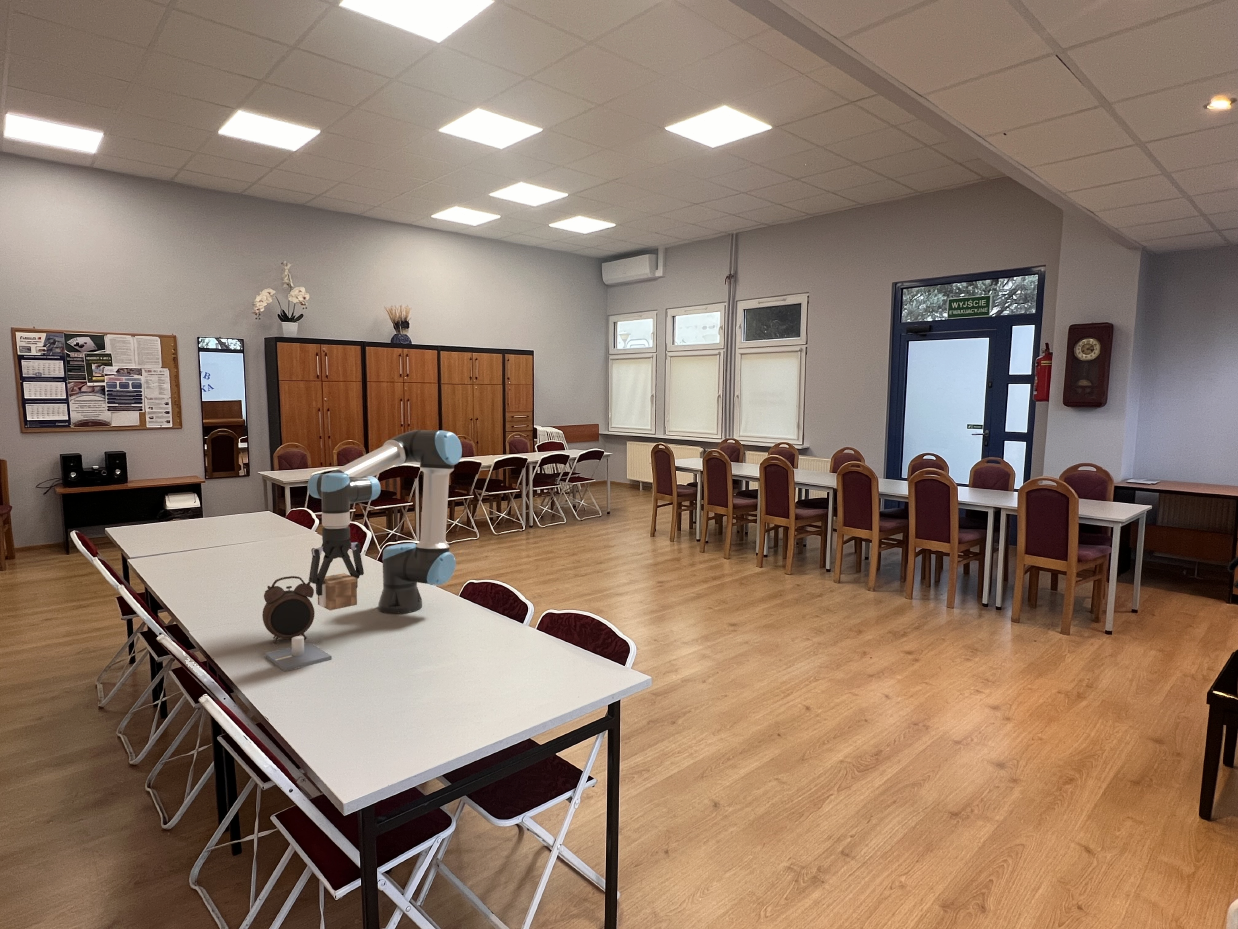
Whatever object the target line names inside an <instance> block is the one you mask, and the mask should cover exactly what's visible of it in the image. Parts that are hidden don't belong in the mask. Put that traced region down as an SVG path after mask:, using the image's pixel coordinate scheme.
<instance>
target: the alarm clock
mask: <svg viewBox="0 0 1238 929" xmlns="http://www.w3.org/2000/svg"><path fill="white" fill-rule="evenodd" d="M290 579H296V580H298V579H299V581H301V583H300V584H297V586H296V587H295V588H294V589H293V590H291V589H292V588H293V587H292V586H291V585H288V586H286V587H285V589H287V590H284V588H282V586H278V585H276V584H277V583H278V582H280V581H284V580H290ZM266 588H267V589H266V590H264V594H263V598H264V599H263V600H264V601H265V604H264V606H263V609H262V621H263V622H262V623H263V625H264V627H265V628H266V630H267V631H268V632H269V633H270V634H271V635H272V636H273V637H272V638H273V640H274V641H273V644H277V641H279V639H282V640H283V639H284V640H292V638H293V637H296V636H303V637H304V640H306V639H307V636H306V634H305V633H306V632H307V631H308V630H309V629H310V627H311V626H312V625H313V622H314V619H315V608H314V605H313V603H312V601H311V600H310V599H313V597H314V595H315V594H314V593H315V590H314V588H313V587H312V585H311V582H309V581H308V582H306V583H305V581H304V580H303V578H302V577H300V576H296V575H291V576H283V577H279V578H277V579H275V580H274V581H273V583H272V584H271V585H267V587H266Z"/></svg>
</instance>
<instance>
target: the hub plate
mask: <svg viewBox="0 0 1238 929" xmlns="http://www.w3.org/2000/svg"><path fill="white" fill-rule="evenodd" d="M264 657H265V658H267V659H268V660H269V661H270V662H271V663H273V664H275V665H276V667H278V668H279V669H281V670H282V671H284V672H287V671H291V670H296V669H299V668H303V667H307V666H310V665H315V664H319V663H323V662H325V661H331V660H332V657H333V656H332V655H331V654H329V653H328V652H326V651H324V649H321V648H320V647H318V646H317V645H315V644H314V643H312V642H307V643H305V639H304V637H303V636H302V635H300V636H296V637H293V638H291V647H286V648H282V649H278V650H274V651H269V652H266V653H264Z"/></svg>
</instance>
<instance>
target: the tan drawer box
mask: <svg viewBox="0 0 1238 929" xmlns="http://www.w3.org/2000/svg"><path fill="white" fill-rule="evenodd" d="M323 583H324V584H326V607H323V608H324V609H325V610H329V611H333V610H338V609H339V610H340V609H345V608H348V607H349V608H350V607H353V606H354V607H355V606H357V605H358V592H357V591H358V587H357V578H355V577H352V576H351V575H350V574H347V573H343V572H342V573H338V574H332V575H326V576H325V579H324V581H323ZM317 605H318V606H320V605H319V596H318V595H317Z"/></svg>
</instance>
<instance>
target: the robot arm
mask: <svg viewBox="0 0 1238 929" xmlns="http://www.w3.org/2000/svg"><path fill="white" fill-rule="evenodd" d="M462 454H463V448H462V442H461V440H460V439H459V437H458V436H457V435H456V434H455V433H454V432H451V431H447V430H430V429H429V430H424V429H414V430H410V431H406V432H404V433H401V434H398V435H396V436H393V437H392V438H390V439H388V440H386V441H385V442H384V443H383V445H382V446H381V447H379V448H377V449H374V450H373V451H370V452H369V453H366V454H365V455H363V456H360V457H359V458H356V459H354V460H352V461H351V462H349V463H347V464H345V465H343V466H340V467H339V468H337V469H335V470H332V471H330V472H329V473H320V474H319V473H318V474H314V475H312V476H311V477H310V478H309V480H308V481H307V491H308V494H309V495H310V496H311V497H313V498H316V499H321V525H322V526H323V527H322V528H321V537H322V538H321V539H322V544H321V546H320V547H317V548H314V547H313V548H311V551H310V552H311V563H310V564H311V565H310V569H309V576H308V582H310V584H313V585H315V594H316V596H317V597H318V596H319V605H318V606H321V607H322V608H324V607H326V584H324V583H323V581H324V579H325V576H327V573H328V571H329V569H330V567H331V566H330V565H331V564H332V562H333V561H334V560H335V559H338V558H339V559H342V561H343V563H344V565H345V568H346V570H347V571H348V573H349V575H350V576H352V577H355V578H357V588H358V582H359V581H358V579H359V578H360V576H363V575H364V574H365V571H364V566H363V560H362V555H361V543H359V542H357V541H356V542H355V541H354V542H351V527H350V526H349V525H351V524H350V523H351V518H350V517H351V514H350V512H351V511H350V510H351V509H350V508H351V504H356V503H362V502H363V503H364V502H370V501H373V500H376V499H378V497H379V496H380V494H381V489H382V488H381V484H380V481H379V480H378V479H377V478H376V477H375V476H377V475H379V474H381V473H382V472H384V471H386V470H388V469H389V468H392V467H393V466H396V467H398V466H399V467H400V466H402V465H404V464H407V463H408V464H409V463H419V468H420V470H421V471H422V473H423V487H422V488H423V489H422V502H421V503H422V507H421V526H420V539H419V540H420V541H419V542H418V543H417V544H416V543H415V542H410V543H409V542H407V543H406V542H405V543H399V544H394V545H390V546H387V547H385V548H384V549H383V551H382V581H383V582H382V584H383V587H382V588H383V589H382V591H381V594H380V597H379V600H378V611H379V612H381V613H382V614H391V615H392V614H393V615H397V614H398V615H401V614H407V613H414V612H416V611H418V610H421V609H423V608H422V607H423V600H422V596H421V594H420V590H419V587H418V583H420V584H427V585H429V586H442V585H444V584H446V583H447V582H449V581H450V579H451V578H452V577H453V575H454V573H455V570H456V565H457V562H456V558H455V555H454V554H453V553H451V552H450V545H449V543H447V541H446V538H447V537H446V536H447V520H448V506H449V505H448V501H449V486H450V484H449V483H450V474H451V473H452V472H453V471H454V470H455V465H457V464H458V463H459V462H460V461H461V458H462V456H463V455H462ZM350 549H351V552H352V556H353V557H352V558H353V561H352V560H351V556H350V555H349V550H350ZM322 552H323V553H324V555H323V559H322V563H320V562H321V555H322ZM353 562H354V564H353ZM320 564H321V565H320Z"/></svg>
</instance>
